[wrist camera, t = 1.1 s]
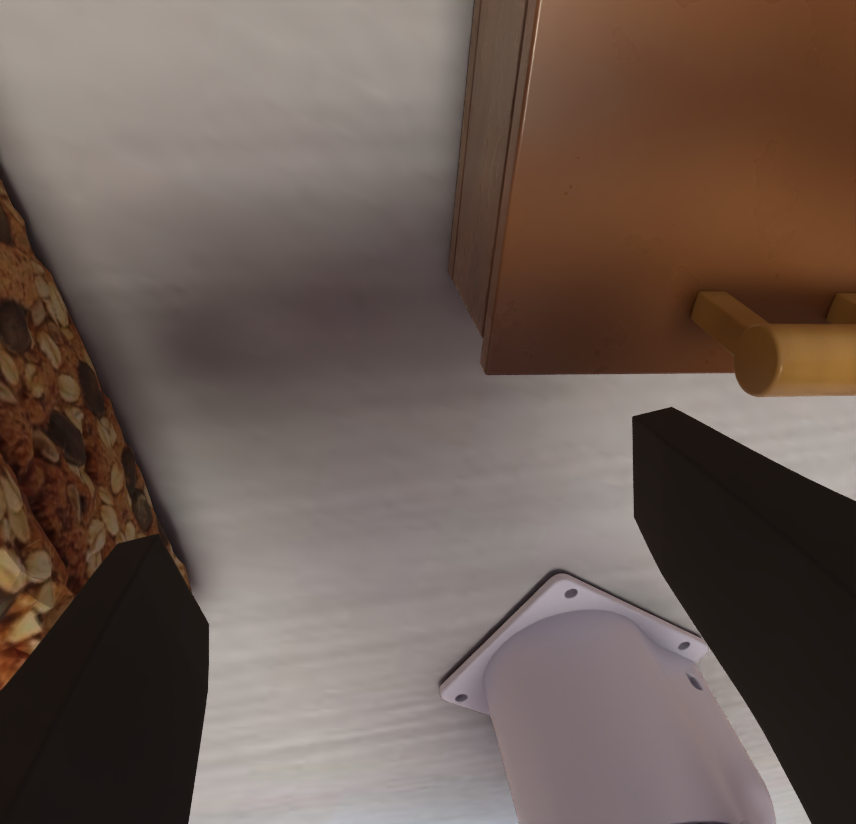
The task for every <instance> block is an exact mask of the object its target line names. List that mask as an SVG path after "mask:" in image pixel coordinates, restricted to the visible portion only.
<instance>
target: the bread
mask: <svg viewBox="0 0 856 824" xmlns="http://www.w3.org/2000/svg"><path fill="white" fill-rule="evenodd" d="M158 533H159V535H160V537H161V538H162V540H163V542H164V544H165V546H166V547H167V549H168V551H169V553H170V555H171V556H172V558H173V560H174V562H175V564H176V566H177V567H178V569H179V571H180V573H181V575H182V576H183V578H184V580H185V582H186V584H187V585H188V587H189V589H190V591H191V587H190V583H189V579H188V575H187V572H186V568H185V565H184V564H182V563H181V562H180V561H179V560H178V558H177V557H176V556H175V554H174V553H173V551H172V546H171V544H170V543H169V541H168V538H167V536H166V534H165V532H164V530H163V528H162V526H161V524H160V522H159V520H158V518H157V516H156V514H155V512H154V509H153V506H152V503H151V500H150V497H149V494H148V491H147V488H146V485H145V482H144V479H143V477H142V474H141V472H140V469H139V467H138V465H137V464H136V463H135V454H134V453H133V451H132V450H131V449H130V447H129V446H128V445H127V444H126V443H125V442H124V438H123V434H122V430H121V428H120V426H119V424H118V422H117V420H116V417H115V414H114V411H113V407H112V404H111V401H110V399H109V398H108V397H107V396H106V395H104V394H103V392H102V389H101V386H100V383H99V380H98V377H97V375H96V372H95V369H94V367H93V365H92V362H91V360H90V358H89V356H88V353H87V351H86V349H85V347H84V344H83V342H82V340H81V338H80V335H79V333H78V331H77V329H76V327H75V325H74V323H73V321H72V319H71V316H70V314H69V312H68V310H67V308H66V306H65V304H64V302H63V300H62V298H61V296H60V293H59V291H58V289H57V286H56V284H55V282H54V279H53V277H52V275H51V273H50V272H49V271H48V270H47V269H46V268H45V266H44V265H43V264H42V263H41V262H40V261H39V260H38V259H37V258H36V256H35V254H34V252H33V249H32V247H31V245H30V242H29V240H28V237H27V232H26V227H25V222H24V220H23V218H22V217H21V215H20V214H19V212H18V211H17V210H15V209H14V208H13V206H12V204H11V202H10V199H9V197H8V194H7V192H6V190H5V187H4V185H3V183H2V180H1V178H0V691H1V690H2V689H3V687H4V686H5V685H6V684H7V683H8V681H9V680H10V679H11V678H12V677H13V675H14V674H15V673H16V672H17V671H18V670H19V668H20V667H21V666H22V665H23V663H24V662H25V661H26V659H27V658H28V657H29V656H30V654H31V653H32V652H33V651H34V649H35V648H36V647H37V645H38V644H39V643H40V642H41V640H42V639H43V638H44V637H45V635H46V634H47V633H48V631H49V630H50V629H51V628H52V626H53V625H54V624H55V622H56V621H57V620H58V619H59V617H60V616H61V615H62V614H63V612H64V611H65V610H66V608H67V607H68V606H69V604H70V603H71V602H72V600H73V599H74V598H75V597H76V595H77V594H78V593H79V591H80V590H81V589H82V587H83V586H84V585H85V584H86V582H87V581H88V580H89V578H90V577H91V576H92V574H93V573H94V572H95V571H96V569H97V568H98V567H99V566H100V564H101V563H102V562H103V560H104V559H105V558H106V557H107V556H108V554H109V553H110V552H111V551H112V550H113V548H114V547H115V546H116V545H117V544H118V543H122V542H126V541H130V540H134V539H138V538H142V537H146V536H150V535H154V534H158ZM191 593H192V592H191Z"/></svg>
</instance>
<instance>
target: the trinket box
mask: <svg viewBox="0 0 856 824" xmlns="http://www.w3.org/2000/svg"><path fill="white" fill-rule="evenodd" d="M528 2H529V0H475V4H474V14H473V24H472V34H471V44H470V55H469V65H468V75H467V85H466V95H465V105H464V115H463V126H462V136H461V146H460V156H459V166H458V176H457V186H456V196H455V207H454V217H453V227H452V237H451V247H450V257H449V267H448V272H449V275H450V277H451V278H452V280H453V282H454V284H455V286H456V288H457V290H458V292H459V294H460V296H461V298H462V300H463V302H464V304H465V305H466V307H467V309H468V311H469V313H470V315H471V317H472V319H473V321H474V323H475V325H476V327H477V329H478V331H479V333H480V334H481V336H482V337H484V329H485V322H486V315H487V307H488V300H489V292H490V285H491V277H492V270H493V262H494V255H495V247H496V240H497V233H498V225H499V218H500V210H501V203H502V195H503V188H504V180H505V173H506V166H507V158H508V151H509V143H510V136H511V128H512V121H513V113H514V106H515V98H516V91H517V84H518V76H519V69H520V61H521V54H522V46H523V39H524V31H525V24H526V17H527V9H528Z"/></svg>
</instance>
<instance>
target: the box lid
mask: <svg viewBox="0 0 856 824" xmlns="http://www.w3.org/2000/svg"><path fill="white" fill-rule="evenodd" d="M480 364H481V366H482V368H483V371H484V373H485V374H486V375H555V374H677V373H735V376H736V379H737V381H738V383H739V385H740V387H741V388H742V389H743V390H744V391H745V392H746V393H748V394H750V395H752V396H755V397H789V396H855V395H856V0H529V2H528V9H527V17H526V24H525V31H524V39H523V46H522V54H521V61H520V69H519V76H518V84H517V91H516V98H515V106H514V113H513V121H512V128H511V136H510V143H509V151H508V158H507V166H506V173H505V180H504V188H503V195H502V203H501V210H500V218H499V225H498V233H497V240H496V247H495V255H494V262H493V270H492V277H491V285H490V292H489V300H488V307H487V315H486V322H485V329H484V337H483V344H482V352H481V359H480Z"/></svg>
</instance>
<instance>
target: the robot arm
mask: <svg viewBox="0 0 856 824" xmlns="http://www.w3.org/2000/svg"><path fill="white" fill-rule="evenodd" d="M632 428H633V488H634V518H635V520H636V522H637V525H638V527H639V529H640V531H641V533H642V535H643V537H644V539H645V541H646V544H647V546H648V548H649V550H650V552H651V554H652V556H653V558H654V560H655V562H656V564H657V566H658V568H659V570H660V572H661V574H662V575H663V577H664V578H665V580H666V582H667V583H668V585H669V586H670V588H671V589H672V591H673V592H674V594H675V596H676V597H677V599H678V600H679V602H680V603H681V605H682V606H683V608H684V609H685V611H686V612H687V614H688V616H689V617H690V619H691V620H692V622H693V623H694V625H695V626H696V628H697V629H698V631H699V632H700V634H701V635H702V637H703V638H704V640H705V641H706V642H705V641H704V640H703V639H701V638H699V637H697V636H695V635H693V634H691V633H689V632H687V631H685V630H682V629H680V628H678V627H676V626H674V625H672V624H670V623H668V622H666V621H664V620H662V619H659V618H657V617H655V616H653V615H651V614H649V613H647V612H645V611H643V610H641V609H639V608H637V607H634V606H632V605H630V604H628V603H626V602H624V601H622V600H620V599H618V598H616V597H614V596H611V595H609V594H607V593H605V592H603V591H601V590H599V589H597V588H595V587H593V586H591V585H589V584H586V583H584V582H582V581H580V580H578V579H576V578H574V577H572V576H570V575H568V574H564V573H562V574H556V575H554V576H552V577H551V578H550V579H549V580H548V581H547V582H546V583H545V584H544V585H543V586H542V587H541V588H540V589H539V590H538V591H537V592H536V593H535V594H534V595H533V596H532V597H531V598H529V599H528V600H527V601H526V602H525V603H524V604H523V605H522V606H521V607H520V608H519V609H518V610H517V611H516V612H515V613H514V614H513V615H512V616H511V617H510V618H509V619H508V620H507V621H506V622H505V623H504V624H503V625H502V626H501V627H500V628H499V629H498V630H497V631H496V632H495V633H494V634H493V635H492V636H491V637H490V638H489V639H488V640H487V641H486V642H485V643H484V644H483V645H482V646H481V647H479V648H478V649H477V650H476V651H475V652H474V653H473V654H472V655H471V656H470V657H469V658H468V659H467V660H466V661H465V662H464V663H463V664H462V665H461V666H460V667H459V668H458V669H457V670H456V671H455V672H454V673H453V674H452V675H451V676H450V677H449V678H448V679H447V680H446V681H445V682H444V683H443V684H442V685H441V686H440V688H439V692H440V697H441V698H442V699H443V700H444V701H447V702H450V703H453V704H456V705H459V706H462V707H465V708H468V709H471V710H474V711H477V712H480V713H483V714H486V715H490V716H491V718H492V722H493V726H494V730H495V733H496V737H497V741H498V745H499V749H500V753H501V756H502V760H503V764H504V768H505V772H506V775H507V779H508V783H509V787H510V791H511V794H512V798H513V802H514V806H515V810H516V813H517V817H518V821H519V824H776V818H775V813H774V809H773V804H772V801H771V798H770V795H769V792H768V790H767V787H766V785H765V783H764V781H763V779H762V778H761V776H760V774H759V772H758V771H757V769H756V767H755V766H754V764H753V762H752V760H751V759H750V757H749V755H748V754H747V752H746V750H745V748H744V747H743V745H742V743H741V742H740V740H739V738H738V736H737V735H736V733H735V731H734V730H733V728H732V726H731V724H730V723H729V721H728V719H727V718H726V716H725V714H724V712H723V711H722V709H721V707H720V705H719V704H718V702H717V700H716V699H715V697H714V695H713V693H712V692H711V690H710V688H709V687H708V685H707V683H706V681H705V680H704V678H703V676H702V675H701V673H700V671H699V669H698V668H697V666H696V664H695V663H696V662H697V661H698V660H700V659H701V658H702V657H703V656H704V655H705V654H706V653H707V652H708V646H709V647H710V649H711V650H712V652H713V653H714V655H715V656H716V658H717V659H718V661H719V663H720V664H721V666H722V667H723V669H724V670H725V672H726V673H727V675H728V676H729V678H730V679H731V681H732V682H733V684H734V685H735V687H736V688H737V690H738V691H739V693H740V694H741V696H742V697H743V699H744V700H745V702H746V704H747V705H748V707H749V709H750V710H751V712H752V714H753V715H754V717H755V719H756V720H757V722H758V724H759V725H760V727H761V729H762V730H763V732H764V734H765V736H766V738H767V739H768V741H769V743H770V745H771V747H772V749H773V751H774V753H775V754H776V756H777V758H778V760H779V762H780V764H781V766H782V768H783V770H784V771H785V773H786V775H787V777H788V779H789V781H790V783H791V785H792V786H793V788H794V790H795V792H796V794H797V796H798V798H799V800H800V802H801V804H802V806H803V808H804V810H805V811H806V813H807V815H808V817H809V819H810V821H811V823H812V824H856V501H854V500H852V499H850V498H848V497H845V496H843V495H841V494H839V493H837V492H834V491H832V490H830V489H828V488H826V487H824V486H822V485H820V484H818V483H816V482H814V481H812V480H810V479H807V478H805V477H803V476H801V475H799V474H798V473H796V472H794V471H792V470H790V469H788V468H786V467H784V466H782V465H780V464H778V463H776V462H774V461H772V460H770V459H768V458H766V457H764V456H763V455H761V454H759V453H757V452H755V451H753V450H751V449H749V448H748V447H746V446H744V445H742V444H740V443H738V442H736V441H735V440H733V439H731V438H729V437H727V436H725V435H724V434H722V433H720V432H718V431H716V430H714V429H713V428H711V427H709V426H707V425H705V424H703V423H701V422H700V421H698V420H696V419H694V418H692V417H690V416H688V415H686V414H685V413H683V412H681V411H679V410H677V409H675V408H673V407H669V408H665V409H661V410H657V411H653V412H649V413H645V414H641V415H637V416H633V417H632ZM569 589H570V590H569ZM706 643H707V644H708V646H707V644H706ZM208 671H209V623H208V622H207V620H206V618H205V616H204V614H203V613H202V611H201V609H200V607H199V605H198V604H197V602H196V600H195V598H194V596H193V594H192V593H191V591H190V589H189V587H188V585H187V584H186V582H185V580H184V578H183V576H182V575H181V573H180V571H179V569H178V567H177V566H176V564H175V562H174V560H173V558H172V556H171V555H170V553H169V551H168V549H167V547H166V546H165V544H164V542H163V540H162V538H161V537H160V535H159V533H158V534H154V535H150V536H146V537H142V538H138V539H134V540H130V541H126V542H122V543H118V544H117V545H116V546H115V547H114V548H113V550H112V551H111V552H110V553H109V554H108V556H107V557H106V558H105V559H104V560H103V562H102V563H101V564H100V566H99V567H98V568H97V569H96V571H95V572H94V573H93V574H92V576H91V577H90V578H89V580H88V581H87V582H86V584H85V585H84V586H83V587H82V589H81V590H80V591H79V593H78V594H77V595H76V597H75V598H74V599H73V600H72V602H71V603H70V604H69V606H68V607H67V608H66V610H65V611H64V612H63V614H62V615H61V616H60V617H59V619H58V620H57V621H56V622H55V624H54V625H53V626H52V628H51V629H50V630H49V631H48V633H47V634H46V635H45V637H44V638H43V639H42V640H41V642H40V643H39V644H38V645H37V647H36V648H35V649H34V651H33V652H32V653H31V654H30V656H29V657H28V658H27V659H26V661H25V662H24V663H23V665H22V666H21V667H20V668H19V670H18V671H17V672H16V673H15V674H14V675H13V677H12V678H11V679H10V680H9V681H8V683H7V684H6V685H5V686H4V687H3V689H2V690H1V691H0V824H188V822H189V815H190V808H191V802H192V795H193V789H194V782H195V776H196V769H197V762H198V756H199V749H200V743H201V736H202V729H203V722H204V715H205V708H206V700H207V693H208Z"/></svg>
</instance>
